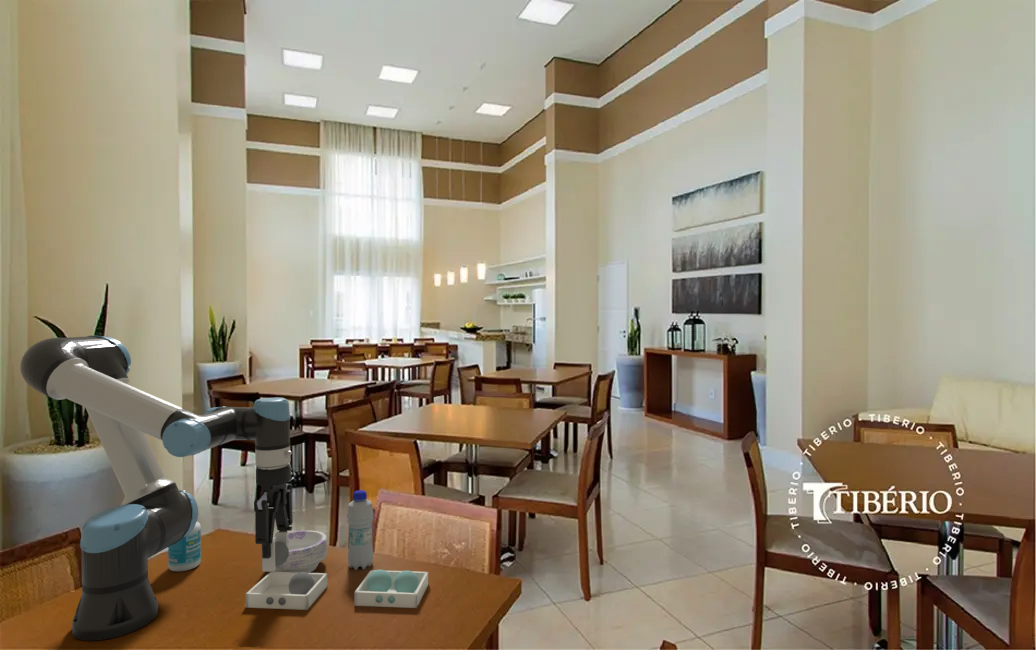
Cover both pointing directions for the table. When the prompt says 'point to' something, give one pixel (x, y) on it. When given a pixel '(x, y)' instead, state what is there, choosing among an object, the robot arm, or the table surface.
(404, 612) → the table surface
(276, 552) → the charcoal ball
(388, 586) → the teal ball
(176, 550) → the pill bottle
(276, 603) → the dish left
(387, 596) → the dish right
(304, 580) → the charcoal ball
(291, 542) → the paper bowls
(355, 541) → the bottle
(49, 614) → the table surface
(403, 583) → the teal ball
